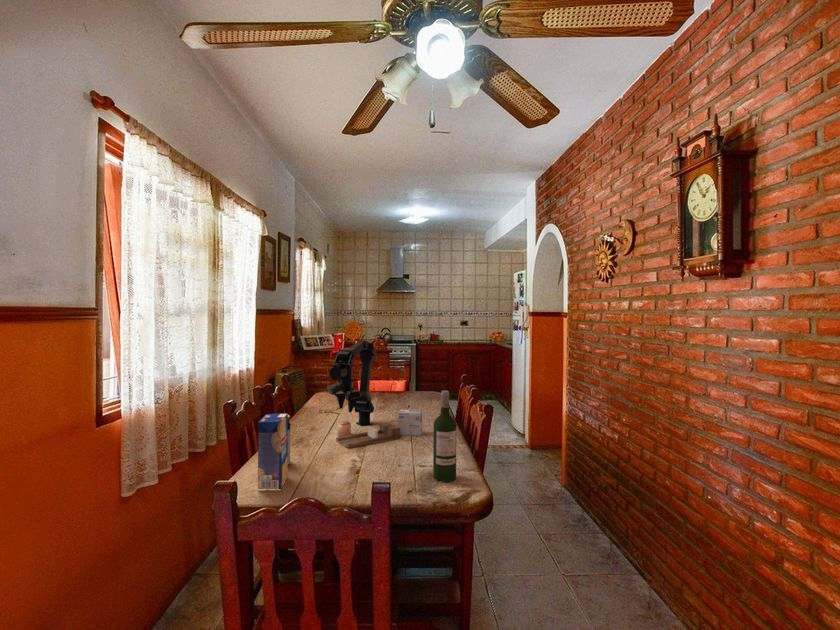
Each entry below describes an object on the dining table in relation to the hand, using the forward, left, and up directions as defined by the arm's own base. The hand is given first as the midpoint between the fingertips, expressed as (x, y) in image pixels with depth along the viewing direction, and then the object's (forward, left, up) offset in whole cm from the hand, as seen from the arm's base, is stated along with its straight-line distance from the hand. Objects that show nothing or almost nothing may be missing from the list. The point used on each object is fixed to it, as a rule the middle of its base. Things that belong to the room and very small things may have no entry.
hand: (345, 410), depth 195 cm
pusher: (+12, +8, -12) cm, 18 cm away
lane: (+12, +6, -12) cm, 18 cm away
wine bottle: (+65, +7, -12) cm, 66 cm away
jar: (0, 0, -12) cm, 12 cm away
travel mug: (+20, -36, -12) cm, 43 cm away
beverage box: (+37, -43, -12) cm, 58 cm away
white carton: (+14, +27, -12) cm, 32 cm away
